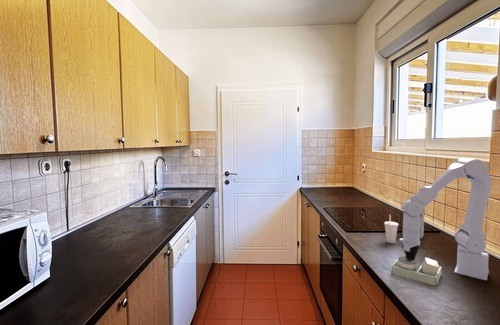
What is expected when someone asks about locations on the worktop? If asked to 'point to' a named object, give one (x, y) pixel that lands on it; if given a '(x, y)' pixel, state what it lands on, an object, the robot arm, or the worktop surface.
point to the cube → (430, 266)
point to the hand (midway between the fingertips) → (410, 263)
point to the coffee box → (420, 223)
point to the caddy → (416, 274)
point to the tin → (407, 263)
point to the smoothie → (391, 230)
